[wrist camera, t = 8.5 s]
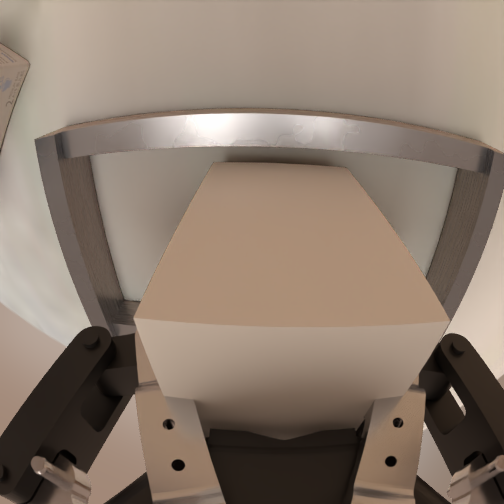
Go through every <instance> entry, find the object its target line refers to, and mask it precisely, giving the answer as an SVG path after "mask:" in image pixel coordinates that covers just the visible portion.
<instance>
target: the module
mask: <svg viewBox="0 0 504 504" xmlns="http://www.w3.org/2000/svg"><path fill="white" fill-rule="evenodd" d="M133 318H134V321H135V324H136V327H137V330H138V333H139V335H140V338H141V341H142V344H143V346H144V349H145V352H146V354H147V357H148V359H149V362H150V364H151V367H152V369H153V372H154V374H155V377H156V379H157V381H158V384H159V386H160V388H161V391H162V393H163V395H164V396H169V397H176V398H184V399H193V400H194V401H195V405H196V408H197V411H198V414H199V418H200V422H201V426H202V429H203V433H204V436H205V437H209V432H210V428H211V429H223V430H237V431H248V432H252V433H256V434H260V435H264V436H268V437H272V438H276V439H281V440H287V439H292V438H296V437H300V436H303V435H307V434H311V433H314V432H318V431H321V430H336V429H347V428H355V430H357V429H358V427H359V426H360V425H361V423H362V422H363V420H364V415H365V414H366V412H367V411H368V409H369V408H370V406H371V405H372V403H373V402H374V400H375V399H382V398H390V397H397V396H404V394H405V393H406V391H407V390H408V389H409V387H410V386H411V384H412V383H413V381H414V380H415V378H416V377H417V375H418V374H419V372H420V371H421V369H422V368H423V366H424V365H425V363H426V362H427V360H428V358H429V357H430V355H431V354H432V352H433V350H434V349H435V347H436V345H437V344H438V342H439V340H440V338H441V337H442V335H443V333H444V331H445V330H446V328H447V326H448V324H449V322H450V319H449V318H448V316H447V314H446V312H445V310H444V309H443V307H442V305H441V303H440V302H439V300H438V298H437V296H436V295H435V293H434V291H433V290H432V288H431V286H430V285H429V283H428V281H427V280H426V278H425V276H424V275H423V273H422V272H421V270H420V268H419V267H418V265H417V264H416V262H415V261H414V259H413V257H412V256H411V254H410V253H409V251H408V250H407V248H406V247H405V245H404V244H403V242H402V241H401V240H400V238H399V237H398V235H397V234H396V232H395V231H394V229H393V228H392V227H391V225H390V224H389V222H388V221H387V220H386V218H385V217H384V215H383V214H382V213H381V211H380V210H379V209H378V207H377V206H376V205H375V203H374V202H373V201H372V199H371V198H370V197H369V195H368V194H367V193H366V192H365V190H364V189H363V188H362V186H361V185H360V184H359V183H358V181H357V180H356V179H355V178H354V176H353V175H352V174H351V173H350V171H349V170H348V169H347V168H346V167H335V166H321V165H305V164H284V163H249V162H213V164H212V166H211V167H210V169H209V171H208V173H207V174H206V176H205V178H204V180H203V181H202V183H201V185H200V187H199V188H198V190H197V192H196V194H195V196H194V197H193V199H192V201H191V203H190V205H189V207H188V208H187V210H186V212H185V214H184V216H183V218H182V220H181V221H180V223H179V225H178V227H177V229H176V231H175V233H174V235H173V237H172V239H171V241H170V242H169V244H168V246H167V248H166V250H165V252H164V254H163V256H162V258H161V260H160V262H159V264H158V266H157V268H156V270H155V272H154V275H153V277H152V279H151V281H150V283H149V285H148V287H147V289H146V291H145V293H144V296H143V298H142V300H141V302H140V304H139V306H138V309H137V311H136V313H135V315H134V317H133Z"/></svg>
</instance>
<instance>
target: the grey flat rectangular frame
mask: <svg viewBox="0 0 504 504" xmlns="http://www.w3.org/2000/svg"><path fill="white" fill-rule="evenodd" d="M35 145H36V151H37V157H38V162H39V167H40V172H41V177H42V181H43V185H44V190H45V194H46V198H47V202H48V206H49V209H50V213H51V217H52V220H53V224H54V227H55V230H56V234H57V237H58V240H59V243H60V246H61V249H62V252H63V255H64V258H65V261H66V264H67V267H68V269H69V272H70V275H71V277H72V280H73V283H74V285H75V288H76V290H77V293H78V295H79V298H80V300H81V302H82V305H83V307H84V309H85V312H86V314H87V316H88V319H89V321H90V323H91V325H92V326H101V327H104V328H106V329H107V330H108V331H109V332H110V334H111V336H112V337H114V336H121V335H128V334H132V333H135V332H136V330H137V327H136V324H135V321H134V318H133V317H134V315H135V313H136V311H137V309H138V306H139V304H140V302H135V301H124V299H123V296H122V293H121V290H120V286H119V283H118V280H117V277H116V273H115V270H114V266H113V263H112V259H111V256H110V252H109V248H108V244H107V240H106V236H105V232H104V228H103V224H102V220H101V216H100V211H99V206H98V202H97V197H96V192H95V187H94V182H93V176H92V170H91V164H90V158H89V155H95V154H103V153H112V152H122V151H133V150H145V149H159V148H177V147H204V146H265V147H292V148H310V149H325V150H337V151H348V152H358V153H367V154H375V155H383V156H391V157H398V158H405V159H411V160H418V161H424V162H430V163H435V164H441V165H446V166H451V167H456V168H458V173H457V178H456V182H455V186H454V191H453V195H452V199H451V202H450V206H449V210H448V213H447V217H446V220H445V224H444V227H443V230H442V234H441V237H440V240H439V243H438V246H437V249H436V252H435V255H434V258H433V261H432V264H431V266H430V269H429V272H428V274H427V277H426V280H427V281H428V283H429V285H430V286H431V288H432V290H433V291H434V293H435V295H436V296H437V298H438V300H439V302H440V303H441V305H442V307H443V309H444V310H445V312H446V314H447V316H448V318H449V319H450V322H451V320H452V318H453V317H454V315H455V313H456V311H457V309H458V307H459V305H460V303H461V301H462V299H463V297H464V295H465V292H466V290H467V288H468V286H469V284H470V282H471V279H472V277H473V275H474V273H475V270H476V268H477V266H478V263H479V261H480V258H481V256H482V253H483V251H484V248H485V245H486V243H487V240H488V237H489V234H490V232H491V229H492V226H493V223H494V220H495V217H496V213H497V210H498V207H499V203H500V200H501V197H502V193H503V189H504V153H503V152H501V151H499V150H497V149H495V148H493V147H491V146H489V145H487V144H485V143H483V142H481V141H477V140H474V139H470V138H467V137H463V136H460V135H456V134H452V133H448V132H444V131H440V130H436V129H431V128H427V127H422V126H417V125H413V124H407V123H402V122H397V121H391V120H385V119H379V118H372V117H365V116H358V115H350V114H341V113H332V112H321V111H309V110H293V109H269V108H218V109H194V110H179V111H166V112H156V113H146V114H138V115H130V116H122V117H116V118H109V119H103V120H97V121H91V122H86V123H81V124H76V125H71V126H66V127H63V128H61V129H58V130H56V131H53V132H51V133H49V134H46V135H44V136H41V137H39V138H37V139H35ZM450 322H449V324H450ZM449 324H448V326H449ZM448 326H447V328H448ZM447 328H446V329H447ZM445 331H446V330H445ZM445 331H444V333H445ZM444 333H443V335H444ZM443 335H442V337H443ZM442 337H441V338H442ZM441 338H440V340H441ZM440 340H439V342H440ZM439 342H438V343H439Z"/></svg>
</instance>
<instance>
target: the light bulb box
mask: <svg viewBox="0 0 504 504" xmlns="http://www.w3.org/2000/svg"><path fill="white" fill-rule="evenodd" d="M29 66H30V64H29V62H28V61H27V60H25V59H24V58H23V57H21V56H19V55H18V54H16V53H15V52H13V51H12V50H10V49H9V48H7V47H5V46H4V45H2V44H1V43H0V149H1V145H2V142H3V138H4V135H5V131H6V128H7V125H8V122H9V119H10V115H11V112H12V110H13V107H14V104H15V101H16V98H17V96H18V93H19V91H20V88H21V86H22V83H23V81H24V78H25V76H26V74H27V71H28V69H29Z"/></svg>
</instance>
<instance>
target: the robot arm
mask: <svg viewBox="0 0 504 504" xmlns="http://www.w3.org/2000/svg"><path fill="white" fill-rule="evenodd" d="M451 387H453V388H454V390H455V392H456V393H457V395H458V397H459V398H460V400H461V401H462V403H463V405H464V407H465V410H466V415H465V416H464V414H463V412H462V410H461V409H460V407H459V405H458V404H457V402H456V400H455V399H454V397H453V395H452V394H451V392H450V391H449V389H450V388H451ZM133 394H135V399H136V407H137V415H138V423H139V430H140V436H141V443H142V449H143V455H144V460H145V465H146V470H147V472H145V473H144V474H143V475H142V476H140V477H139V478H138V479H136V480H135V481H134V482H133V483H132V484H130V485H129V486H127V487H126V488H125V489H124V490H122V491H121V492H120V493H118V494H117V495H115V496H114V497H112V498H111V499H110V500H108V501H107V502H106V503H104V504H451V503H450V502H448V501H447V500H446V499H445V498H444V497H442V496H441V495H440V494H439V493H437V492H436V491H435V490H434V489H433V488H432V487H430V486H429V485H428V484H427V483H426V482H425V481H423V480H422V479H421V478H420V477H419V476H418V475H417V469H418V463H419V457H420V450H421V443H422V434H423V425H424V422H425V424H426V426H427V427H428V429H429V431H430V433H431V435H432V437H433V439H434V441H435V443H436V445H437V447H438V449H439V451H440V453H441V455H442V457H443V458H444V461H445V463H446V465H447V467H448V469H449V471H450V473H451V475H452V479H451V483H450V486H449V488H448V490H447V495H448V496H449V497H450V498H452V504H504V390H503V388H502V387H501V385H500V384H499V382H498V381H497V379H496V378H495V376H494V375H493V374H492V372H491V371H490V369H489V368H488V366H487V365H486V364H485V362H484V361H483V359H482V358H481V357H480V355H479V354H478V353H477V351H476V350H475V349H474V347H473V346H472V345H471V343H470V342H469V341H468V340H467V339H466V338H465V337H463V336H461V335H459V334H455V333H450V334H447V335H445V336H444V337H443V338H442V340H441V341H440V343H438V344H437V345H436V347H435V349H434V350H433V352H432V354H431V355H430V357H429V358H428V360H427V362H426V363H425V365H424V366H423V368H422V369H421V371H420V372H419V374H418V375H417V377H416V378H415V380H414V381H413V383H412V384H411V386H410V387H409V389H408V390H407V391H406V393H405V394H404V396H397V397H390V398H382V399H375V400H374V402H373V403H372V405H371V406H370V408H369V409H368V411H367V412H366V414H365V415H364V420H363V422H362V423H361V425H360V426H359V427H358V429H357V430H355V428H347V429H336V430H321V431H318V432H314V433H311V434H307V435H303V436H300V437H296V438H292V439H287V440H281V439H276V438H272V437H268V436H264V435H260V434H256V433H252V432H248V431H237V430H223V429H211V428H210V432H209V437H205V436H204V433H203V429H202V426H201V422H200V418H199V414H198V411H197V408H196V405H195V401H194V400H193V399H184V398H176V397H169V396H164V395H163V393H162V391H161V388H160V386H159V384H158V381H157V379H156V377H155V374H154V372H153V369H152V367H151V364H150V362H149V359H148V357H147V354H146V352H145V349H144V346H143V344H142V341H141V338H140V335H139V333H138V330H136V332H135V333H132V334H128V335H121V336H114V337H112V336H111V334H110V332H109V331H108V330H107V329H106V328H104V327H101V326H92V327H88V328H86V329H84V330H82V331H81V332H79V333H78V334H77V336H76V337H75V338H74V339H73V340H72V342H71V343H70V344H69V345H68V346H67V348H66V349H65V350H64V352H63V353H62V354H61V355H60V356H59V358H58V359H57V360H56V361H55V363H54V364H53V365H52V367H51V368H50V369H49V371H48V372H47V373H46V374H45V375H44V377H43V378H42V380H41V381H40V382H39V383H38V385H37V386H36V387H35V389H34V390H33V391H32V393H31V394H30V395H29V397H28V398H27V400H26V401H25V402H24V404H23V405H22V406H21V408H20V409H19V411H18V412H17V413H16V415H15V416H14V418H13V419H12V421H11V422H10V424H9V425H8V427H7V428H6V430H5V431H4V432H3V434H2V435H1V437H0V495H1V496H3V497H5V498H7V499H9V500H10V501H12V502H13V503H15V504H88V499H89V496H90V494H91V482H90V479H89V477H88V475H87V472H88V471H89V469H90V467H91V465H92V463H93V462H94V460H95V458H96V457H97V455H98V453H99V451H100V450H101V448H102V446H103V444H104V443H105V441H106V439H107V438H108V436H109V434H110V433H111V431H112V429H113V427H114V426H115V424H116V422H117V421H118V419H119V417H120V415H121V414H122V412H123V411H124V409H125V407H126V406H127V404H128V402H129V401H130V399H131V397H132V395H133Z"/></svg>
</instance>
